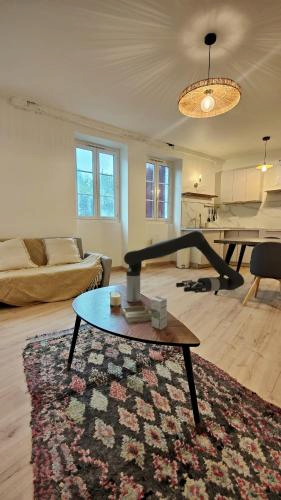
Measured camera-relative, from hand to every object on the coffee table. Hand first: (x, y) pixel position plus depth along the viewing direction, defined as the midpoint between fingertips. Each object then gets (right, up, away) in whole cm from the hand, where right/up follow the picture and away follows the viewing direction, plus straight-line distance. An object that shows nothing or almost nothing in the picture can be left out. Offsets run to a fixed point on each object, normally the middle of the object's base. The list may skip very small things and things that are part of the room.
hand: (180, 287), depth 110 cm
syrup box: (-11, -19, -1) cm, 22 cm away
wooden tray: (-22, -18, +11) cm, 30 cm away
